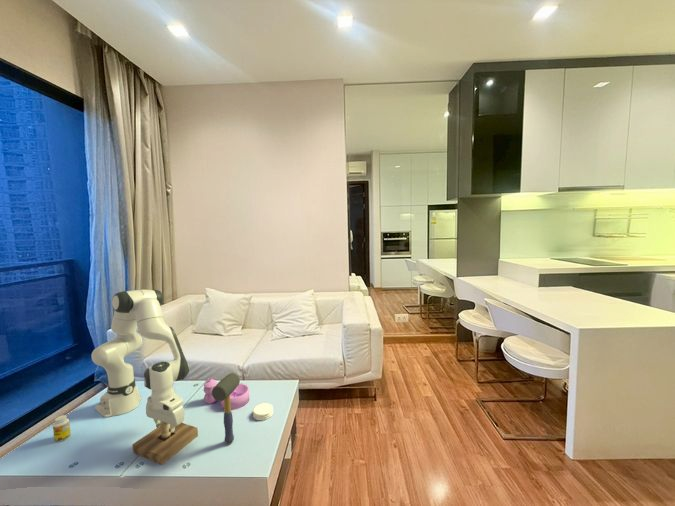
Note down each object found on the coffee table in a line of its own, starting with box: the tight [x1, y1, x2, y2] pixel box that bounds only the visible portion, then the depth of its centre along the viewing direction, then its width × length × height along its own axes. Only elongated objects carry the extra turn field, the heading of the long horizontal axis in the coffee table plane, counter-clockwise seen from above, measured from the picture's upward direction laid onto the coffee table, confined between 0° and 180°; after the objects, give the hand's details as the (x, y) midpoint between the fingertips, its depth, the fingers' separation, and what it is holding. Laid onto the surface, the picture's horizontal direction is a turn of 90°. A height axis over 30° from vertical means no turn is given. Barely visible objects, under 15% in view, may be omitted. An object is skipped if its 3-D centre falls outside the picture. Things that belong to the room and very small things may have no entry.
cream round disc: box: [252, 402, 274, 422], centre depth 151 cm, size 10×10×4 cm
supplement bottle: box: [52, 414, 72, 443], centre depth 137 cm, size 6×6×10 cm
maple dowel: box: [160, 421, 171, 441], centre depth 131 cm, size 4×4×12 cm
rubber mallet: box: [212, 372, 241, 445], centre depth 131 cm, size 12×8×30 cm, turn 170°
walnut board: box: [132, 422, 199, 465], centre depth 132 cm, size 18×18×4 cm
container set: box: [203, 377, 250, 411], centre depth 163 cm, size 25×15×13 cm, turn 86°
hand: (165, 429), depth 131 cm, fingers open, 7 cm apart
